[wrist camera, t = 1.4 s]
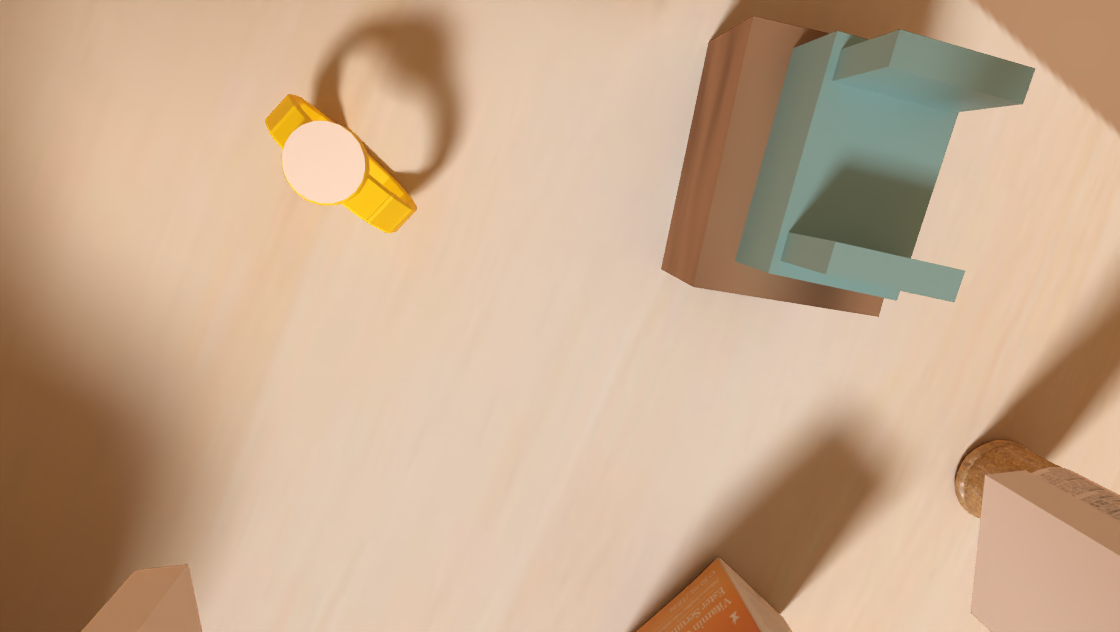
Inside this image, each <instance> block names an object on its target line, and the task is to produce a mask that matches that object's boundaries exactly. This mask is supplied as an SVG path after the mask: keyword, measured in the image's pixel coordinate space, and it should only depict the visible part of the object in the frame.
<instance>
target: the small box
mask: <svg viewBox="0 0 1120 632" xmlns="http://www.w3.org/2000/svg"><path fill="white" fill-rule="evenodd" d="M636 632H792V631H791V629H790V627H789V626H788V624H787V623H786V621H785V620H784V618H783V617H782V616H781V615H780V614H779V613H778V612H777V611H775V610H774V609H773V608H772V607H771V606H770V605H769V604H768V603H767V602H766V601H765V600H764V599H763V598H762V597H761V596H760V595H759V594H758V593H757V592H756V591H755V590H754V589H752V588H751V587H750V586H749V585H748V584H747V583H746V582H745V581H744V580H743V579H742V578H741V577H740V576H739V575H738V574H737V573H736V572H735V571H734V570H733V569H731V568H730V567H729V566H728V565H727V564H726V563H725V562H724V561H723V560H722V559H721V558H717V559H716V560H714V561H713V562H712V564H711V565H709V566H708V567H707V568H706V569H705V570H704V571H703V572H702V573H701V574H700V575H699V576H698V577H697V578H696V579H695V580H694V581H693V582H692V583H691V584H690V585H689V586H687V587H686V588H685V589H684V590H683V591H682V592H681V593H679V594H678V595H677V596H676V597H675V598H674V599H673V600H672V601H670V602H669V603H668V604H667V605H666V606H665V607H664V608H662V609H661V610H660V611H659V612H658V613H657V614H656V615H654V616H653V617H652V618H651V619H650V620H649V621H648V622H646V623H645V624H644V625H643V626H642V627H641V628H640V629H638V630H637V631H636Z"/></svg>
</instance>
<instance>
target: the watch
mask: <svg viewBox="0 0 1120 632" xmlns="http://www.w3.org/2000/svg"><path fill="white" fill-rule="evenodd" d="M265 123H266V126H267V128H268V130H269V132H270V134H271V136H273V139H274V140H275V141H276V142H277V143H278V144H279V146H280V147H281V148H282V149H283V152H282V169H283V172H284V175H285V177H286V180H287V182H288V184H289V185H290V186H291V187H292V189H293V190H294V191H295V192H296V193H297V194H298V195H300V196H301V197H303V198H304V199H306V200H307V201H309V202H312V203H316V204H319V205H338V204H342V205H344V206H345V207H346V208H348V209H349V210H350V211H352V212H353V213H354V214H356V215H357V216H359V217H360V218H361V219H363V220H364V221H366V222H367V223H369V224H371V225H372V226H374V227H376V228H378V229H380V230H382V231H383V232H386V233H392V232H396V231H397V230H398V229H399V228H400V227H401V226H402V225H403V224H404V223H405V222H406V221H407V220H408V219H409V217H410V216H411V215H412V214H413V213H414V212H415V211H416V210H417V206H416V204H415V203H414V201H413V199H412V198H411V196H410V195H409V194H408V193H407V192H406V191H405V189H404V188H403V187H402V186H401V185H400V184H399V183H398V182H397V180H396V179H395V178H393V177H392V176H391V175H390V174H389V173H388V172H387V171H386V170H385V169H384V168H383V167H382V166H381V165H380V164H378V163H377V162H376V161H375V160H374V159H373V158H372V157H371V156H370V155H369V154H368V153H367V151H366V148H365V146H364V144H363V143H362V142H361V140H360V139H359V138H358V136H357V135H356V134H355V133H353V132H352V131H350V130H349V129H348V128H346V127H344V126H342V125H339V124H336V123H334V122H333V121H332V120H330V119H329V118H328V117H327V116H326V115H324V114H323V113H322V112H321V111H319V110H318V109H317V108H315V107H314V106H313V105H311V104H310V103H308V102H307V101H305V100H304V99H302V98H301V97H299V96H296V95H292V94H288V95H287V96H286V97H285V98H284V99H283V100H282V102H281V103H280V104H279V105H278V106H277V107H276V108H275V109H274V110H273V111H272V113H271V114H270V115H269V116H268V117H267V118H266V120H265Z"/></svg>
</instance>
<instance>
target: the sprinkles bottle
mask: <svg viewBox="0 0 1120 632" xmlns="http://www.w3.org/2000/svg"><path fill="white" fill-rule="evenodd" d="M1023 470H1026V471H1028V472H1030V473H1032V474H1034V475H1035V476H1037V477H1039V478H1041V479H1043V480H1044V481H1046V482H1048V483H1050V484H1052V485H1054V486H1055V487H1057V488H1059V489H1061V490H1063V491H1065V492H1066V493H1068V494H1070V495H1072V496H1074V497H1075V498H1077V499H1079V500H1081V501H1083V502H1085V503H1086V504H1088V505H1090V506H1092V507H1094V508H1096V509H1097V510H1099V511H1101V512H1103V513H1105V514H1106V515H1108V516H1110V517H1112V518H1114V519H1116V520H1117V521H1119V522H1120V495H1118V494H1116V493H1114V492H1112V491H1110V490H1108V489H1106V488H1104V487H1102V486H1100V485H1098V484H1096V483H1094V482H1092V481H1090V480H1089V479H1087V478H1085V477H1083V476H1081V475H1079V474H1077V473H1075V472H1073V471H1071V470H1068V469H1065V468H1062V467H1060V466H1058V465H1055V464H1053V463H1051V462H1049V461H1048V460H1046V459H1044V458H1041V457H1040V456H1038V455H1036V454H1033V453H1032V452H1031V451H1030V450H1029V449H1027V448H1026V447H1024V446H1023V445H1021V444H1019V443H1016V442H1013V441H1008V440H994V441H991V442H988V443H986V444H983V445H981V446H979V447H978V448H976V449H974V450H973V451H972V452H971V453H970V454H969V455H967V456H966V458H965V459H964V460H963V462H962V464H961V466H960V468H959V470H958V472H957V476H956V480H955V491H956V495H957V497H958V501H959V502H960V504H961V506H962V507H963V508H964V509H965V510H966V511H968V512H969V513H970V514H972V515H974V516H975V517H978V518H981V509H982V499H983V490H984V480H985V475H987V474H996V473H1005V472H1014V471H1023Z"/></svg>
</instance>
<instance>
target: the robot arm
mask: <svg viewBox="0 0 1120 632" xmlns="http://www.w3.org/2000/svg"><path fill="white" fill-rule="evenodd" d="M971 614H972V615H973V616H974V617H976V618H977V619H978V620H979V621H980V622H981V623H982V624H983V625H984V626H986V627H987V628H988V629H989V630H990V631H991V632H1120V522H1119V521H1117V520H1116V519H1114V518H1112V517H1110V516H1108V515H1106V514H1105V513H1103V512H1101V511H1099V510H1097V509H1096V508H1094V507H1092V506H1090V505H1088V504H1086V503H1085V502H1083V501H1081V500H1079V499H1077V498H1075V497H1074V496H1072V495H1070V494H1068V493H1066V492H1065V491H1063V490H1061V489H1059V488H1057V487H1055V486H1054V485H1052V484H1050V483H1048V482H1046V481H1044V480H1043V479H1041V478H1039V477H1037V476H1035V475H1034V474H1032V473H1030V472H1028V471H1026V470H1023V471H1014V472H1005V473H996V474H987V475H985V480H984V490H983V499H982V509H981V518H980V528H979V537H978V547H977V556H976V566H975V575H974V585H973V594H972V604H971ZM81 632H202V628H201V623H200V618H199V613H198V609H197V604H196V599H195V594H194V590H193V585H192V580H191V575H190V571H189V566H188V564H185V565H176V566H167V567H158V568H149V569H141V570H135V571H134V572H133V573H132V574H131V575H130V576H129V577H128V579H127V580H126V581H125V582H124V583H123V584H122V585H121V587H120V588H119V589H118V590H117V591H116V592H115V593H114V595H113V596H112V597H111V598H110V599H109V600H108V601H107V602H106V604H105V605H104V606H103V607H102V608H101V609H100V610H99V612H98V613H97V614H96V615H95V616H94V617H93V618H92V620H91V621H90V622H89V623H88V624H87V625H86V626H85V628H84V629H83V630H82V631H81Z"/></svg>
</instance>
